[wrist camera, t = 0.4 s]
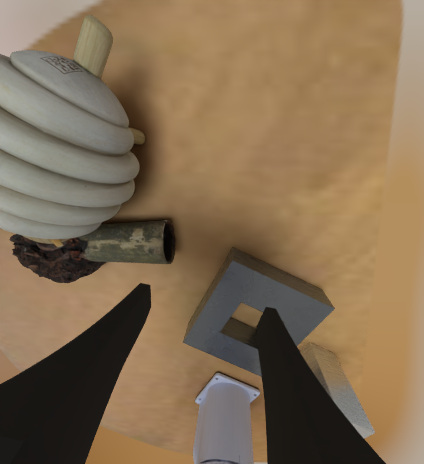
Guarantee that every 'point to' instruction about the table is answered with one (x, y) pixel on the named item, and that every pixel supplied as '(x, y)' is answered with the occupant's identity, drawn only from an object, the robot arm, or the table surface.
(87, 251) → the tube with rough end
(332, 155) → the table surface
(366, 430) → the grey wooden block
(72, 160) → the toy sheep
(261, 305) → the grey slab with hole
